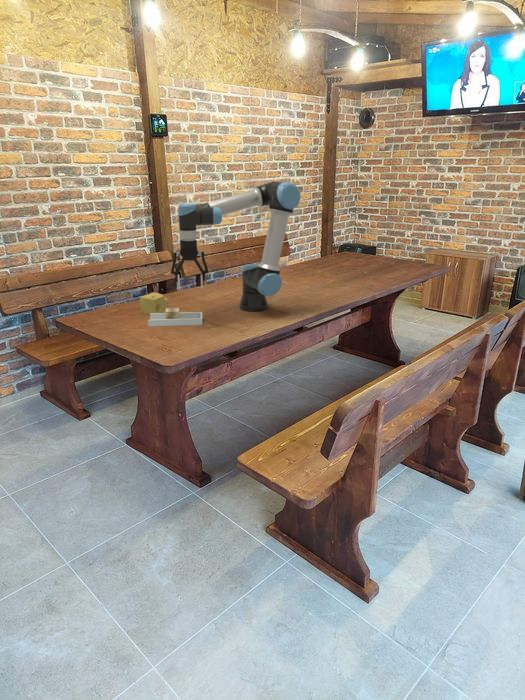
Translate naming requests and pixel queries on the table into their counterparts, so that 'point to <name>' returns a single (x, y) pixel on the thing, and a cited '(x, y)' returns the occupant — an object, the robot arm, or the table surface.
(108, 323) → the table surface
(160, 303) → the cheese
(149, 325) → the channel
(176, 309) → the block
